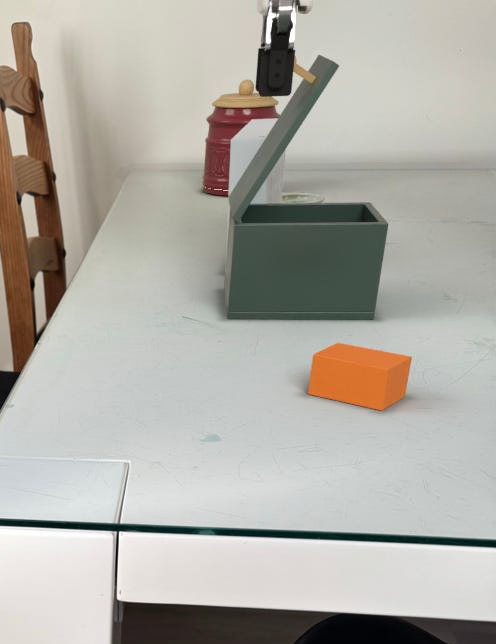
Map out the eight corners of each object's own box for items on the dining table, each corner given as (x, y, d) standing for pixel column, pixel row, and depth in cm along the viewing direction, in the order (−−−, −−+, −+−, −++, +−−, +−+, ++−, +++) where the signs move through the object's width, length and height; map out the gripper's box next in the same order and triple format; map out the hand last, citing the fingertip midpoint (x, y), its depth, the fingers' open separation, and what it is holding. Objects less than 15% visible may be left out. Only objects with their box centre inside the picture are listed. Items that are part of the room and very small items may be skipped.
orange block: (405, 397, 88) (412, 356, 86) (381, 411, 85) (388, 369, 83) (332, 381, 92) (337, 342, 90) (307, 394, 89) (312, 354, 87)
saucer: (269, 206, 167) (271, 191, 165) (328, 209, 163) (330, 193, 161) (253, 217, 159) (254, 200, 158) (314, 220, 156) (316, 203, 154)
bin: (357, 290, 119) (370, 202, 113) (373, 319, 108) (388, 223, 103) (223, 290, 121) (230, 203, 116) (227, 319, 110) (234, 224, 105)
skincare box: (241, 241, 145) (251, 117, 136) (279, 242, 143) (292, 117, 134) (219, 274, 128) (230, 136, 119) (263, 276, 126) (276, 136, 118)
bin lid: (324, 58, 107) (286, 31, 106) (339, 65, 96) (297, 36, 95) (233, 201, 115) (197, 177, 115) (238, 222, 105) (198, 196, 104)
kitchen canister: (287, 193, 176) (299, 79, 167) (218, 199, 174) (226, 83, 165) (256, 183, 187) (265, 75, 178) (191, 188, 185) (197, 79, 175)
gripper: (344, -139, 86) (318, 99, 96) (322, -120, 100) (302, 86, 110) (255, -133, 87) (239, 102, 97) (246, -115, 102) (232, 88, 111)
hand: (272, 91), depth 104 cm, fingers closed on bin lid, 5 cm apart
